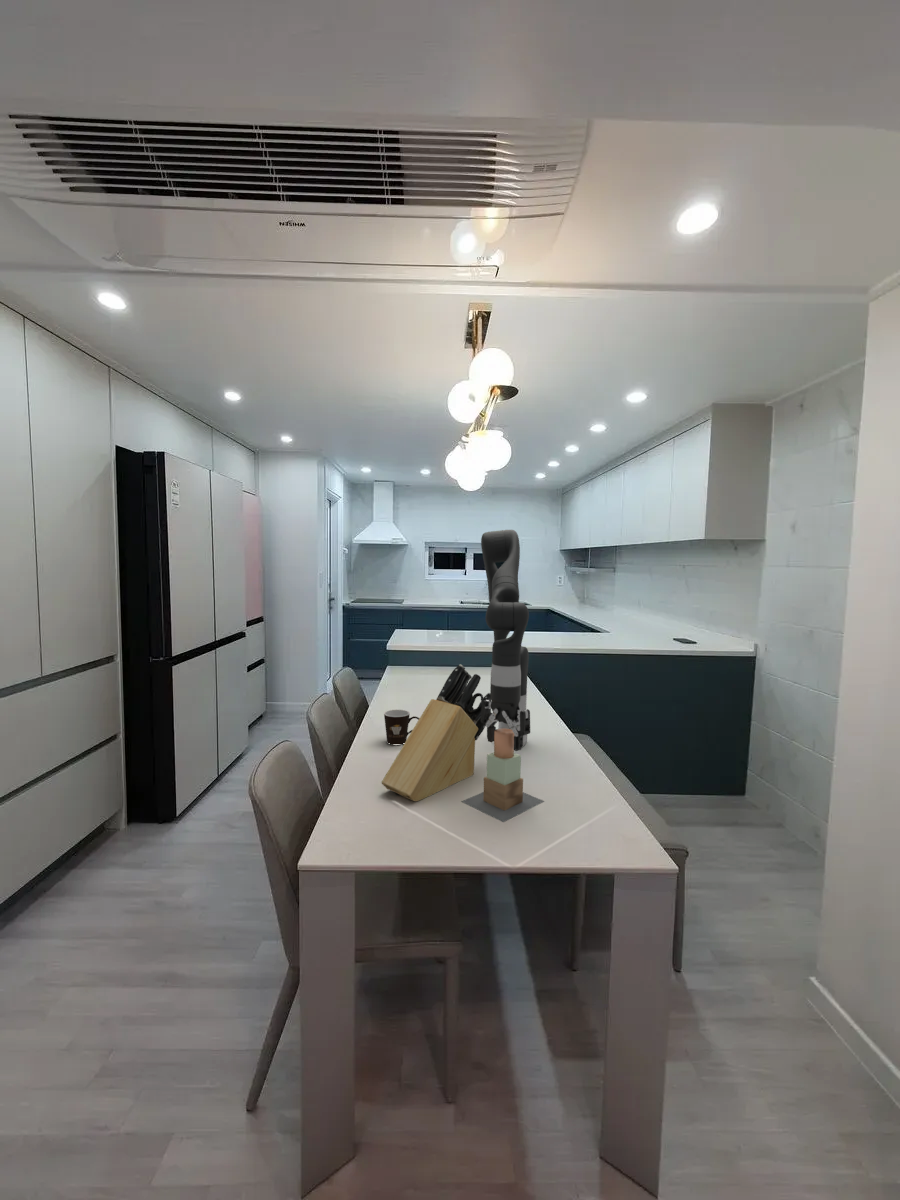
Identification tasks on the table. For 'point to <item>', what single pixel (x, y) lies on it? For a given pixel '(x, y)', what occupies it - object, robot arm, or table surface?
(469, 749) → the knife block
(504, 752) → the tan rounded cylinder
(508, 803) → the bottom block
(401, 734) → the coffee mug
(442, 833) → the table surface
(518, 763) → the top block
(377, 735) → the table surface
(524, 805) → the mat
